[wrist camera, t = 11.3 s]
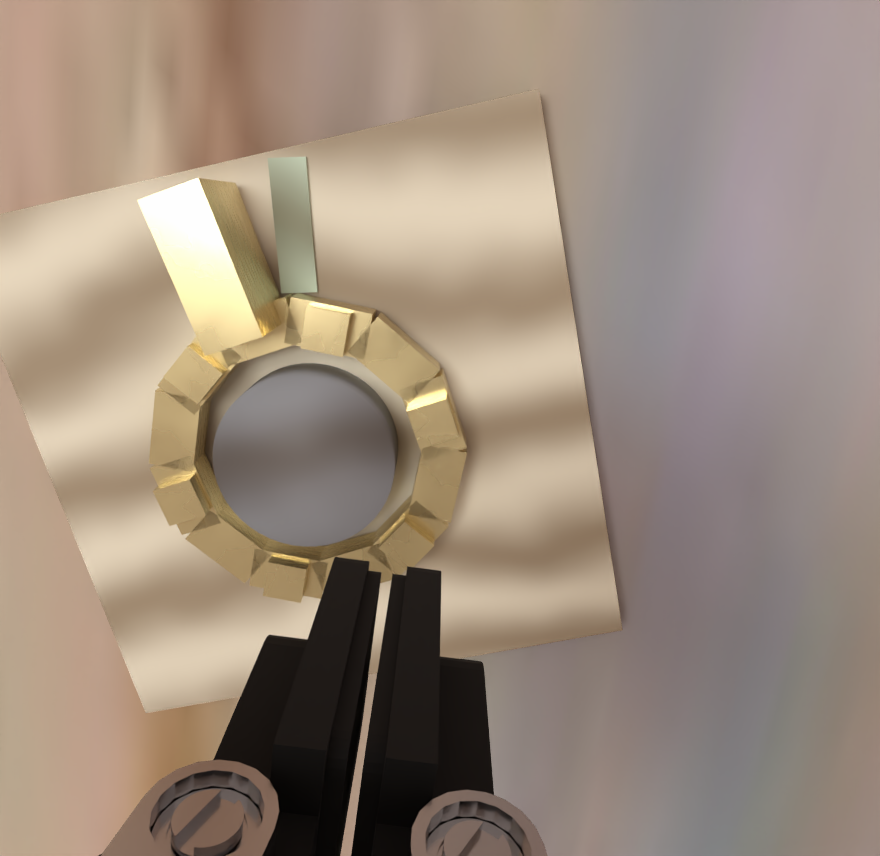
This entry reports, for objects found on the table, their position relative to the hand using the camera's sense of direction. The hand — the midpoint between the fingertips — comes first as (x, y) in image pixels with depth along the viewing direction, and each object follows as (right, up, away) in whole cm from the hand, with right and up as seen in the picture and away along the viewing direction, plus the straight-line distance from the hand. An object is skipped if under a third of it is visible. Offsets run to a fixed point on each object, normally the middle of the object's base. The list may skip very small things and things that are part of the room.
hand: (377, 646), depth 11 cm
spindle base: (-5, +3, +23) cm, 24 cm away
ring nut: (-6, +5, +21) cm, 22 cm away
